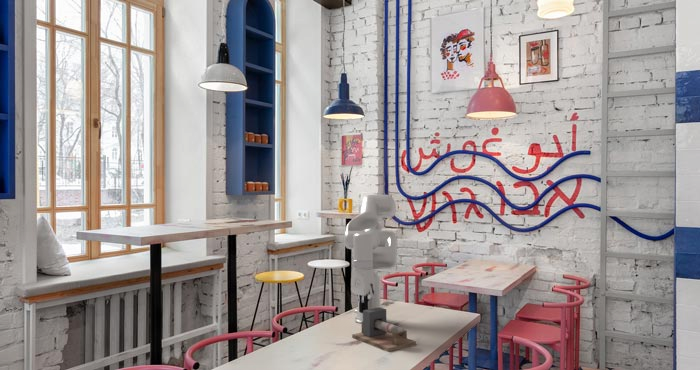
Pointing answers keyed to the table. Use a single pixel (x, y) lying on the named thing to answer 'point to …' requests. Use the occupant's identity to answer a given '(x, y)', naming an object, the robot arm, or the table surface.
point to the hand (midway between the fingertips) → (363, 312)
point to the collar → (369, 321)
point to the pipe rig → (386, 337)
